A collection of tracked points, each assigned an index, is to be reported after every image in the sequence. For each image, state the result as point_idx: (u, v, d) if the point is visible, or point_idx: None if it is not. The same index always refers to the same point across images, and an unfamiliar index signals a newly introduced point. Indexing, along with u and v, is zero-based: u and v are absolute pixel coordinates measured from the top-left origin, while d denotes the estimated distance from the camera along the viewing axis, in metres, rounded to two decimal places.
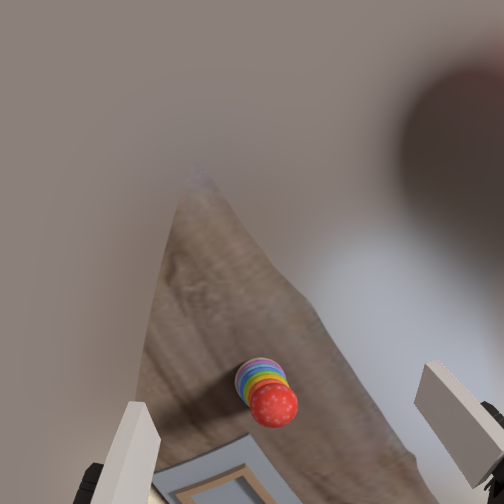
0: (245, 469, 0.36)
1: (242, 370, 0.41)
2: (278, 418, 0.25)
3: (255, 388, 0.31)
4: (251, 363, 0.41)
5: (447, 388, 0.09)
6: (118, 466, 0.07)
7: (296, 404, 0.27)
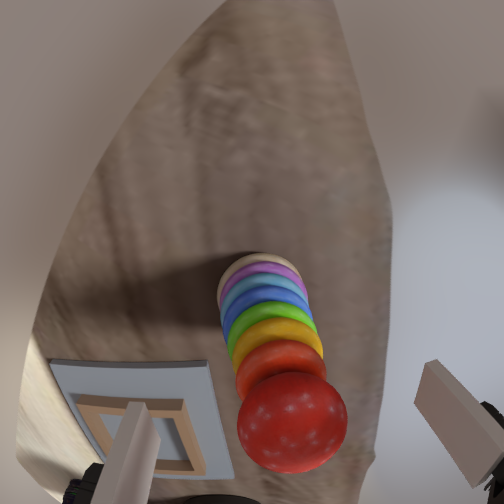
0: (180, 412, 0.27)
1: (243, 271, 0.23)
2: (294, 471, 0.10)
3: (266, 358, 0.14)
4: (264, 265, 0.23)
5: (447, 388, 0.09)
6: (118, 466, 0.07)
7: None
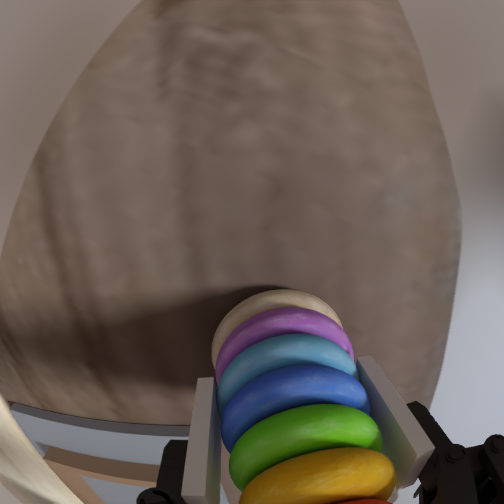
0: None
1: (255, 327, 0.13)
2: None
3: None
4: (291, 318, 0.13)
5: (373, 384, 0.11)
6: (204, 436, 0.09)
7: None
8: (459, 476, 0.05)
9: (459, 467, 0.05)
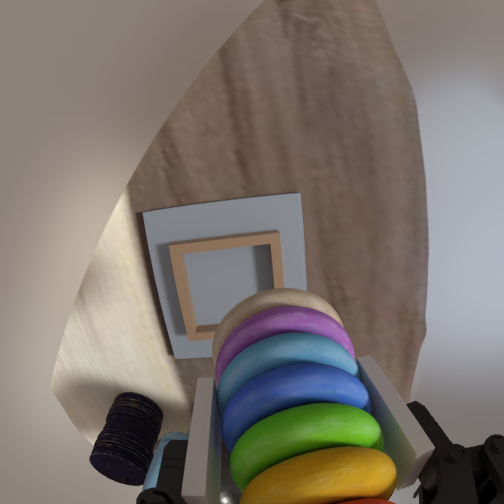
0: (277, 235, 0.35)
1: (255, 326, 0.13)
2: None
3: None
4: (292, 317, 0.13)
5: (373, 384, 0.11)
6: (204, 436, 0.09)
7: None
8: (459, 476, 0.05)
9: (459, 467, 0.05)
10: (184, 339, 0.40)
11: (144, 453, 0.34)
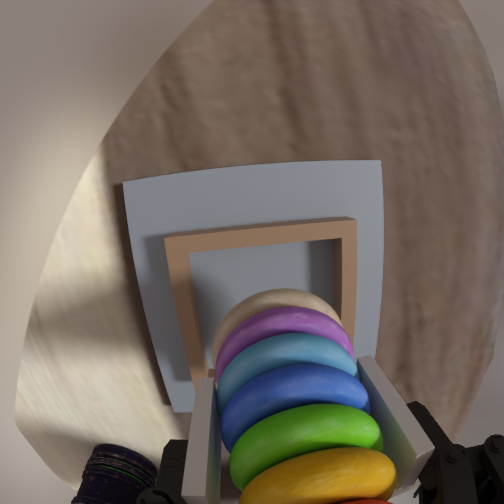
0: (353, 225, 0.20)
1: (255, 326, 0.13)
2: None
3: None
4: (291, 318, 0.13)
5: (373, 384, 0.11)
6: (204, 436, 0.09)
7: None
8: (459, 476, 0.05)
9: (459, 467, 0.05)
10: (188, 387, 0.25)
11: None
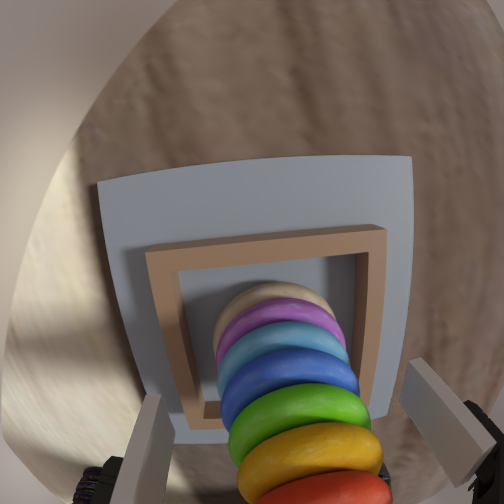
0: (383, 235, 0.15)
1: (253, 315, 0.14)
2: None
3: None
4: (286, 307, 0.14)
5: (429, 386, 0.10)
6: (138, 458, 0.08)
7: None
8: None
9: None
10: (182, 419, 0.20)
11: None
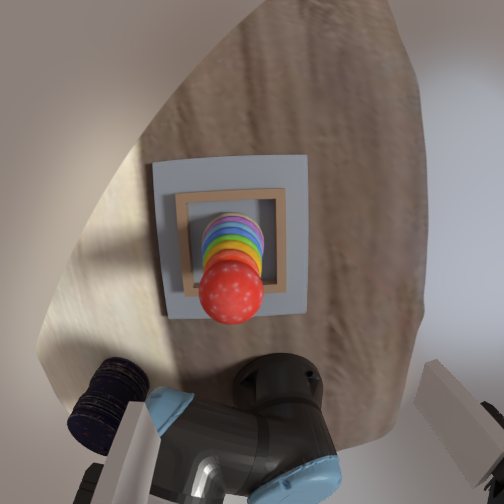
0: (283, 191, 0.35)
1: (219, 220, 0.34)
2: (227, 315, 0.21)
3: (220, 256, 0.25)
4: (234, 218, 0.34)
5: (447, 388, 0.09)
6: (118, 466, 0.07)
7: (258, 307, 0.22)
8: None
9: None
10: (180, 297, 0.40)
11: None
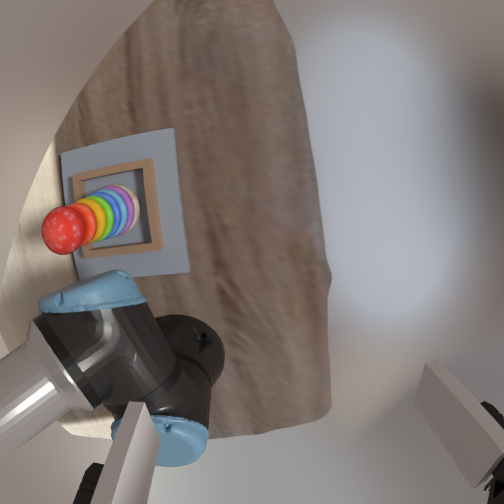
0: (148, 160, 0.38)
1: (98, 190, 0.37)
2: (51, 243, 0.24)
3: None
4: (107, 187, 0.37)
5: (447, 388, 0.09)
6: (118, 466, 0.07)
7: (74, 238, 0.25)
8: None
9: None
10: (85, 261, 0.43)
11: None
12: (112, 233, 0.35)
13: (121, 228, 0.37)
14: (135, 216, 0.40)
